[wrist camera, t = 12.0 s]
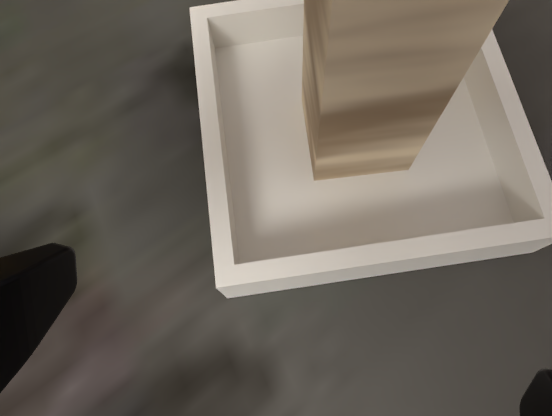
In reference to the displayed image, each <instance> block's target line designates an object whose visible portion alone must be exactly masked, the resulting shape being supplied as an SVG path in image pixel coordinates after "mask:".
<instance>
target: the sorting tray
mask: <svg viewBox="0 0 552 416" xmlns="http://www.w3.org/2000/svg"><path fill="white" fill-rule="evenodd" d="M190 18H191V28H192V39H193V49H194V60H195V70H196V81H197V92H198V102H199V113H200V123H201V134H202V144H203V155H204V165H205V176H206V187H207V197H208V208H209V218H210V229H211V239H212V250H213V260H214V271H215V282H216V288H217V289H218V290H219V291H220V292H221V293H222V294H223V295H225V296H226V297H227V298H233V297H240V296H246V295H253V294H260V293H266V292H273V291H280V290H286V289H293V288H300V287H306V286H313V285H320V284H326V283H333V282H340V281H346V280H353V279H360V278H366V277H373V276H380V275H386V274H393V273H400V272H406V271H413V270H420V269H426V268H433V267H440V266H446V265H453V264H460V263H466V262H473V261H480V260H486V259H493V258H500V257H506V256H513V255H520V254H526V253H533V252H535V251H537V250H539V249H541V248H544V247H546V246H548V245H550V244H552V181H551V179H550V176H549V174H548V171H547V168H546V166H545V163H544V161H543V158H542V156H541V153H540V150H539V148H538V145H537V143H536V140H535V138H534V135H533V132H532V130H531V127H530V125H529V122H528V120H527V117H526V115H525V112H524V109H523V107H522V104H521V102H520V99H519V97H518V94H517V91H516V89H515V86H514V84H513V81H512V79H511V76H510V74H509V71H508V68H507V66H506V63H505V61H504V58H503V56H502V53H501V50H500V48H499V45H498V43H497V40H496V38H495V35H494V33H493V30H491V32H490V33H489V35H488V37H487V39H486V40H485V42H484V44H483V45H482V47H481V49H480V50H479V52H478V54H477V55H476V57H475V59H474V60H473V62H472V64H471V65H470V67H469V69H468V71H467V72H466V74H465V76H464V77H463V79H462V81H461V82H460V84H459V86H458V87H457V89H456V91H455V92H454V94H453V96H452V97H451V99H450V101H449V103H448V104H447V106H446V108H445V109H444V111H443V113H442V114H441V116H440V118H439V119H438V121H437V123H436V124H435V126H434V128H433V129H432V131H431V133H430V135H429V136H428V138H427V140H426V141H425V143H424V145H423V146H422V148H421V150H420V151H419V153H418V155H417V156H416V158H415V160H414V161H413V163H412V165H411V167H410V168H409V170H402V171H394V172H385V173H377V174H368V175H360V176H351V177H343V178H334V179H326V180H317V181H314V178H313V171H312V165H311V158H310V152H309V145H308V138H307V132H306V125H305V118H304V112H303V105H302V64H303V20H304V0H237V1H230V2H223V3H216V4H210V5H203V6H196V7H190Z"/></svg>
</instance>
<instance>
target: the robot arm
mask: <svg viewBox="0 0 552 416" xmlns="http://www.w3.org/2000/svg"><path fill="white" fill-rule="evenodd" d="M76 285H77V271H76V256H75V251H74V250H73V249H72V248H71V247H68V246H65V245H61V244H57V243H50V244H47V245H43V246H40V247H36V248H33V249H29V250H25V251H22V252H18V253H15V254H11V255H8V256H4V257H1V258H0V393H1V392H2V390H3V389H4V388H5V387H6V386H7V384H8V383H9V382H10V381H11V379H12V378H13V377H14V376H15V375H16V373H17V372H18V371H19V370H20V369H21V367H22V366H23V365H24V364H25V362H26V361H27V360H28V359H29V357H30V356H31V355H32V353H33V352H34V350H35V349H36V348H37V346H38V345H39V343H40V342H41V340H42V339H43V337H44V336H45V334H46V333H47V331H48V330H49V329H50V327H51V326H52V324H53V323H54V321H55V320H56V318H57V317H58V315H59V314H60V312H61V311H62V309H63V308H64V306H65V305H66V303H67V302H68V300H69V299H70V297H71V296H72V294H73V293H74V291H75V288H76ZM520 416H552V370H550V369H541V370H540V371H538V372H537V374H536V375H535V377H534V379H533V380H532V382H531V384H530V385H529V387H528V389H527V390H526V392H525V394H524V395H523V397H522V399H521V402H520Z"/></svg>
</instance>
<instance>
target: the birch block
mask: <svg viewBox="0 0 552 416" xmlns="http://www.w3.org/2000/svg"><path fill="white" fill-rule="evenodd" d="M508 1H509V0H304V20H303V64H302V105H303V112H304V118H305V125H306V132H307V138H308V145H309V152H310V158H311V165H312V171H313V178H314V181H317V180H326V179H334V178H343V177H351V176H360V175H368V174H377V173H385V172H394V171H402V170H409V168H410V167H411V165H412V163H413V161H414V160H415V158H416V156H417V155H418V153H419V151H420V150H421V148H422V146H423V145H424V143H425V141H426V140H427V138H428V136H429V135H430V133H431V131H432V129H433V128H434V126H435V124H436V123H437V121H438V119H439V118H440V116H441V114H442V113H443V111H444V109H445V108H446V106H447V104H448V103H449V101H450V99H451V97H452V96H453V94H454V92H455V91H456V89H457V87H458V86H459V84H460V82H461V81H462V79H463V77H464V76H465V74H466V72H467V71H468V69H469V67H470V65H471V64H472V62H473V60H474V59H475V57H476V55H477V54H478V52H479V50H480V49H481V47H482V45H483V44H484V42H485V40H486V39H487V37H488V35H489V33H490V32H491V30H492V28H493V27H494V25H495V23H496V22H497V20H498V18H499V17H500V15H501V13H502V12H503V10H504V8H505V7H506V5H507V3H508Z"/></svg>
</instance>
